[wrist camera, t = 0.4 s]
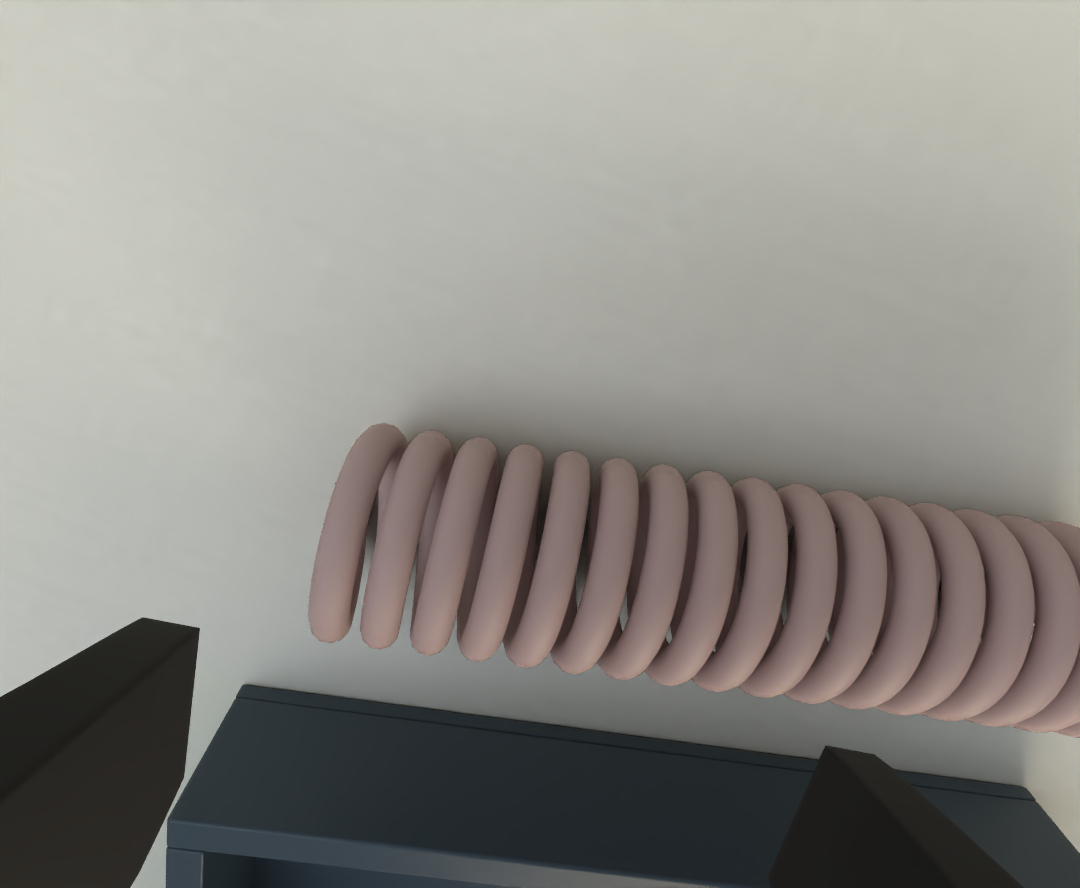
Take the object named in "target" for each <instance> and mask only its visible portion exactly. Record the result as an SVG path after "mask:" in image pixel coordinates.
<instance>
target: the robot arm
mask: <svg viewBox="0 0 1080 888" xmlns="http://www.w3.org/2000/svg"><path fill="white" fill-rule="evenodd" d="M199 631H200V628H196V627H191V626H186V625H180V624H175V623H170V622H164V621H159V620H154V619H148V618H143V617H142V618H141V619H139V620H137V621H135V622H133V623H131V624H129V625H127V626H126V627H124V628H122V629H120V630H118V631H117V632H115V633H113V634H111V635H109V636H108V637H106V638H104V639H102V640H101V641H99V642H97V643H95V644H94V645H92V646H90V647H88V648H87V649H85V650H83V651H81V652H80V653H78V654H76V655H74V656H73V657H71V658H69V659H67V660H66V661H64V662H62V663H60V664H59V665H57V666H55V667H53V668H52V669H50V670H48V671H46V672H44V673H43V674H41V675H39V676H37V677H36V678H34V679H32V680H30V681H29V682H27V683H25V684H23V685H21V686H19V687H18V688H16V689H14V690H12V691H10V692H9V693H7V694H5V695H3V696H1V697H0V888H130V887H131V885H132V884H133V882H134V880H135V879H136V877H137V875H138V874H139V872H140V870H141V868H142V866H143V864H144V862H145V860H146V857H147V855H148V853H149V851H150V849H151V847H152V845H153V843H154V841H155V839H156V837H157V835H158V833H159V830H160V828H161V826H162V824H163V822H164V820H165V818H166V815H167V813H168V811H169V809H170V807H171V804H172V802H173V800H174V798H175V796H176V794H177V791H178V789H179V787H180V785H181V783H182V781H183V778H184V772H185V763H186V753H187V744H188V735H189V725H190V716H191V706H192V697H193V688H194V678H195V669H196V659H197V650H198V641H199ZM768 878H769V883H770V888H1024V887H1023V886H1022V885H1021V884H1020V883H1019V882H1018V881H1016V880H1015V879H1014V878H1013V877H1012V876H1011V875H1010V874H1009V873H1008V872H1007V871H1006V870H1004V869H1003V868H1002V867H1001V866H1000V865H999V864H998V863H997V862H996V861H995V860H994V859H992V858H991V857H990V856H989V855H988V854H987V853H986V852H985V851H984V850H983V849H982V848H980V847H979V846H978V845H977V844H976V843H975V842H974V841H973V840H972V839H971V838H970V837H969V836H967V835H966V834H965V833H964V832H963V831H962V830H961V829H960V828H959V827H958V826H957V825H955V824H954V823H953V822H952V821H951V820H950V819H949V818H948V817H947V816H946V815H944V814H943V813H942V812H941V811H940V810H939V809H938V808H937V807H936V806H935V805H933V804H932V803H931V802H930V801H929V800H928V799H927V798H926V797H924V796H923V795H922V794H921V793H920V792H919V791H918V790H917V789H915V788H914V787H913V786H912V785H911V784H910V783H909V782H907V781H906V780H905V779H904V778H903V777H902V776H900V775H899V774H898V773H897V772H896V771H894V770H893V769H892V768H891V767H890V766H888V765H887V764H886V763H885V762H883V761H882V760H881V759H879V758H878V757H877V756H876V755H874V754H869V753H863V752H858V751H853V750H847V749H842V748H837V747H831V746H825V748H824V750H823V752H822V755H821V757H820V759H819V762H818V764H817V766H816V768H815V771H814V773H813V775H812V778H811V780H810V782H809V784H808V787H807V789H806V791H805V794H804V796H803V798H802V800H801V803H800V805H799V807H798V809H797V812H796V814H795V816H794V819H793V821H792V823H791V825H790V828H789V830H788V832H787V835H786V837H785V839H784V841H783V844H782V846H781V848H780V851H779V853H778V855H777V857H776V860H775V862H774V864H773V866H772V869H771V871H770V873H769V876H768Z"/></svg>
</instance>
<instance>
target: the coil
mask: <svg viewBox="0 0 1080 888" xmlns="http://www.w3.org/2000/svg"><path fill="white" fill-rule="evenodd" d="M543 463H544V462H543V458H542V454H541V452H540V451H539V450H538V449H537V448H536V447H535V446H531V445H528V444H523V445H519V446H516V447H515V448H514V449H513V450H512V451H511V452H510V453H509V455H508V458H507V461H506V464H505V468H504V471H503V475H502V479H501V483H500V487H499V491H498V496H497V490H498V456H497V451H496V448H495V446H494V445H493V444H492V443H491V442H490V441H489V440H488V439H485V438H481V437H477V438H473V439H469V440H468V441H467V442H466V443H465V444H463V445H462V447H461V448H460V449H459V451H458V453H457V455H456V458H455V460H454V456H453V451H452V446H451V443H450V441H449V440H448V439H447V438H446V437H445V436H444V435H443V433H441V432H437V431H434V430H429V431H425V432H421V433H420V434H419V435H417V436H416V437H415V438H414V439H413V440H412V441H411V442H410V444H409V445H408V444H407V441H406V438H405V436H404V435H403V434H402V432H401V431H400V430H399V429H398V428H397V427H395V426H393V425H390V424H387V423H381V424H377V425H372V426H371V427H369V428H368V429H367V430H366V431H365V432H364V433H363V434H362V435H361V436H360V437H359V438H358V439H357V440H356V442H355V443H354V445H353V446H352V448H351V450H350V452H349V454H348V456H347V458H346V460H345V462H344V464H343V467H342V469H341V471H340V474H339V477H338V479H337V482H336V483H335V488H334V491H333V494H332V497H331V500H330V503H329V506H328V510H327V513H326V517H325V520H324V524H323V528H322V532H321V536H320V540H319V545H318V549H317V554H316V559H315V564H314V569H313V575H312V581H311V589H310V596H309V612H308V616H309V623H310V627H311V631H312V634H313V635H314V636H315V637H316V638H317V639H318V640H319V641H323V642H328V643H333V642H336V641H339V640H341V639H342V638H343V637H344V636H345V635H346V634H347V633H348V632H349V630H350V627H351V624H352V620H353V616H354V612H355V608H356V604H357V599H358V594H359V588H360V582H361V576H362V570H363V562H364V554H365V546H366V536H367V524H368V520H369V517H370V513H371V510H372V506H373V503H374V500H375V497H376V494H377V491H378V521H377V535H376V543H375V548H374V552H373V556H372V561H371V566H370V570H369V575H368V580H367V585H366V591H365V596H364V602H363V608H362V615H361V624H360V631H361V635H362V638H363V641H364V642H365V643H366V644H367V645H368V646H370V647H372V648H377V649H383V648H386V647H389V646H390V645H391V644H392V643H393V642H394V641H395V640H396V639H397V637H398V633H399V629H400V624H401V619H402V614H403V609H404V604H405V600H406V595H407V590H408V585H409V581H410V576H411V572H412V567H413V563H414V558H415V554H416V550H417V546H418V541H419V547H418V559H417V570H416V581H415V591H414V600H413V609H412V619H411V628H410V639H411V643H412V646H413V647H414V648H415V649H416V650H417V651H418V652H419V653H420V654H425V655H433V654H436V653H439V652H440V651H441V650H442V649H443V648H444V647H445V646H446V645H447V643H448V641H449V638H450V635H451V632H452V629H453V625H454V621H455V618H456V614H457V641H458V644H459V648H460V651H461V653H462V654H463V655H464V656H465V657H466V658H467V659H468V660H473V661H477V662H480V661H483V660H486V659H489V658H490V657H491V656H492V655H493V654H494V652H495V651H496V650H497V649H498V648H499V646H500V644H501V642H502V639H503V643H504V647H505V651H506V654H507V656H508V658H509V659H510V660H511V661H512V662H513V663H514V664H515V665H516V666H521V667H525V668H530V667H533V666H536V665H538V664H540V663H541V662H542V661H543V660H544V658H545V657H546V656H547V655H548V653H549V652H550V654H551V657H552V659H553V661H554V662H555V663H556V664H557V665H558V666H559V667H560V668H561V669H562V670H563V671H564V672H568V673H572V674H579V673H582V672H585V671H587V670H589V669H591V668H592V667H593V665H594V664H595V663H596V662H597V664H598V665H599V666H600V668H601V669H602V670H603V671H604V672H605V673H606V674H607V675H609V676H610V677H612V678H616V679H620V680H627V679H630V678H633V677H636V676H638V675H640V674H641V673H642V672H643V671H645V672H646V674H647V675H648V676H649V677H650V678H651V679H652V680H653V681H655V682H657V683H659V684H663V685H667V686H675V685H678V684H681V683H684V682H686V681H689V680H690V679H692V680H693V681H694V682H695V683H696V684H697V685H698V686H699V687H702V688H704V689H706V690H710V691H714V692H723V691H726V690H729V689H732V688H735V687H737V686H738V687H739V688H740V689H741V690H742V691H744V692H745V693H748V694H750V695H753V696H757V697H761V698H770V697H774V696H777V695H780V694H785V695H786V696H788V697H789V698H791V699H794V700H797V701H800V702H804V703H810V704H817V703H821V702H825V701H828V700H830V701H831V702H833V703H834V704H837V705H840V706H843V707H846V708H850V709H861V710H863V709H867V708H872V707H876V708H878V709H880V710H883V711H886V712H889V713H893V714H896V715H913V714H918V713H920V714H922V715H925V716H928V717H932V718H936V719H939V720H943V721H958V720H963V719H965V720H967V721H970V722H974V723H977V724H981V725H985V726H995V727H1002V726H1007V725H1009V726H1012V727H1015V728H1019V729H1023V730H1027V731H1031V732H1051V731H1053V732H1057V733H1060V734H1064V735H1068V736H1072V737H1080V528H1078V527H1075V526H1072V525H1069V524H1065V523H1061V522H1054V521H1044V522H1035V521H1032V520H1030V519H1027V518H1023V517H1019V516H1013V515H1003V516H997V517H994V516H992V515H990V514H987V513H985V512H982V511H978V510H973V509H961V510H955V511H952V512H951V511H950V510H949V509H947V508H944V507H942V506H940V505H936V504H932V503H918V504H914V505H910V506H907V505H906V504H905V503H903V502H901V501H899V500H897V499H894V498H890V497H883V496H879V497H875V498H871V499H868V500H865V501H863V500H862V499H861V498H860V496H858V495H856V494H854V493H851V492H847V491H843V490H836V491H832V492H828V493H825V494H822V495H821V496H820V495H819V494H818V493H817V492H816V491H815V490H814V489H812V488H810V487H809V486H805V485H801V484H795V483H794V484H791V485H787V486H784V487H781V488H779V489H778V490H777V491H775V489H774V488H773V487H772V486H771V485H770V484H769V483H767V482H766V481H765V480H762V479H758V478H754V477H749V478H745V479H742V480H739V481H737V482H736V483H735V484H734V485H733V486H732V487H731V486H730V484H729V483H728V482H727V481H726V480H725V479H724V478H723V477H722V476H721V475H720V474H719V473H715V472H712V471H703V472H699V473H697V474H695V475H694V476H693V477H692V478H691V479H690V480H689V481H688V482H687V483H686V484H685V482H684V479H683V477H682V475H681V474H680V473H679V472H678V471H677V470H676V469H675V468H674V467H672V466H668V465H665V464H660V465H656V466H653V467H652V468H651V469H650V470H648V471H647V472H646V473H645V475H644V476H643V478H642V480H641V483H640V485H639V483H638V478H637V473H636V470H635V467H634V466H633V465H632V464H631V463H630V462H629V461H628V460H625V459H621V458H618V457H617V458H613V459H609V460H607V461H606V462H605V463H604V464H603V465H602V466H601V468H600V470H599V473H598V477H597V480H596V484H595V488H594V493H593V498H592V505H591V511H590V519H589V528H588V538H587V552H586V575H585V586H584V590H583V594H582V598H581V601H580V604H579V608H578V611H577V598H576V571H577V566H578V561H579V556H580V551H581V546H582V541H583V535H584V529H585V523H586V516H587V510H588V502H589V493H590V480H591V472H590V467H589V463H588V460H587V459H586V458H585V457H584V456H583V455H582V454H581V453H578V452H575V451H568V452H564V453H562V454H561V455H560V456H559V457H558V458H557V459H556V461H555V465H554V468H553V474H552V481H551V489H550V496H549V502H548V508H547V513H546V519H545V524H544V529H543V534H542V539H541V544H540V549H539V553H538V558H537V562H536V567H535V553H536V537H537V523H538V511H539V500H540V490H541V481H542V472H543ZM792 526H793V527H794V531H795V535H794V538H793V542H792V546H791V550H790V555H789V561H788V535H789V532H790V530H791V528H792ZM836 528H838V532H837V535H836V534H835V529H836ZM746 533H747V559H746V567H745V575H744V581H743V587H742V591H741V596H740V564H741V556H742V550H743V544H744V540H745V536H746ZM787 566H788V569H787ZM984 570H985V575H984ZM786 577H787V583H786ZM940 580H941V606H940V614H939V618H938V608H937V604H938V591H939V584H940ZM785 584H786V601H787V618H786V621H785V624H784V625H783V620H782V614H781V606H782V601H783V597H784V591H785ZM626 588H627V609H628V620H627V623H626V626H625V628H624V630H623V632H622V628H621V624H620V617H619V614H620V611H621V607H622V604H623V600H624V596H625V592H626ZM1033 623H1035V626H1034V631H1033ZM669 626H670V627H671V633H672V638H673V639H672V641H671V642H670V644H668V641H667V639H666V634H667V631H668V629H669ZM827 629H828V630H829V635H830V641H829V643H828V641H827V638H826V632H827ZM1032 631H1033V636H1032ZM1031 636H1032V640H1031ZM980 638H981V642H980ZM1030 640H1031V643H1030ZM1029 645H1030V646H1029ZM714 647H715V649H716V652H715V653H714V652H713V649H714ZM871 652H872V653H873V655H872V654H871Z"/></svg>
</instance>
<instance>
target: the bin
mask: <svg viewBox="0 0 1080 888" xmlns="http://www.w3.org/2000/svg"><path fill="white" fill-rule="evenodd" d="M818 762H819V760H812V759H804V758H797V757H789V756H781V755H774V754H766V753H759V752H751V751H743V750H736V749H728V748H720V747H713V746H705V745H698V744H690V743H682V742H675V741H667V740H660V739H652V738H644V737H637V736H629V735H622V734H614V733H606V732H599V731H591V730H584V729H576V728H568V727H561V726H553V725H546V724H538V723H530V722H523V721H515V720H507V719H500V718H492V717H485V716H477V715H469V714H462V713H454V712H447V711H439V710H431V709H424V708H416V707H409V706H401V705H393V704H386V703H378V702H371V701H363V700H355V699H348V698H340V697H333V696H325V695H317V694H310V693H302V692H294V691H287V690H279V689H272V688H264V687H256V686H249V685H242V687H241V688H240V690H239V692H238V694H237V696H236V699H235V700H234V702H233V704H232V705H231V707H230V709H229V711H228V712H227V714H226V716H225V718H224V720H223V721H222V723H221V725H220V727H219V729H218V730H217V732H216V734H215V736H214V737H213V739H212V741H211V743H210V745H209V746H208V748H207V750H206V752H205V753H204V755H203V757H202V759H201V761H200V762H199V764H198V766H197V768H196V769H195V771H194V773H193V775H192V777H191V778H190V780H189V782H188V784H187V785H186V787H185V789H184V791H183V793H182V794H181V796H180V798H179V800H178V801H177V803H176V805H175V807H174V809H173V810H172V812H171V814H170V816H169V818H168V819H167V845H168V847H167V850H166V888H770V883H769V878H768V876H769V873H770V871H771V869H772V866H773V864H774V862H775V860H776V857H777V855H778V853H779V851H780V848H781V846H782V844H783V841H784V839H785V837H786V835H787V832H788V830H789V828H790V825H791V823H792V821H793V819H794V816H795V814H796V812H797V809H798V807H799V805H800V803H801V800H802V798H803V796H804V794H805V791H806V789H807V787H808V784H809V782H810V780H811V778H812V775H813V773H814V771H815V768H816V766H817V764H818ZM894 771H895V770H894ZM896 772H897V773H898V774H899V775H900V776H902V777H903V778H904V779H905V780H906V781H907V782H909V783H910V784H911V785H912V786H913V787H914V788H915V789H917V790H918V791H919V792H920V793H921V794H922V795H923V796H924V797H926V798H927V799H928V800H929V801H930V802H931V803H932V804H933V805H935V806H936V807H937V808H938V809H939V810H940V811H941V812H942V813H943V814H944V815H946V816H947V817H948V818H949V819H950V820H951V821H952V822H953V823H954V824H955V825H957V826H958V827H959V828H960V829H961V830H962V831H963V832H964V833H965V834H966V835H967V836H969V837H970V838H971V839H972V840H973V841H974V842H975V843H976V844H977V845H978V846H979V847H980V848H982V849H983V850H984V851H985V852H986V853H987V854H988V855H989V856H990V857H991V858H992V859H994V860H995V861H996V862H997V863H998V864H999V865H1000V866H1001V867H1002V868H1003V869H1004V870H1006V871H1007V872H1008V873H1009V874H1010V875H1011V876H1012V877H1013V878H1014V879H1015V880H1016V881H1018V882H1019V883H1020V884H1021V885H1022V886H1023V887H1024V888H1080V853H1079V852H1078V851H1077V850H1076V849H1075V847H1074V846H1073V845H1072V844H1071V843H1070V841H1069V840H1068V839H1067V838H1066V836H1065V835H1064V834H1063V833H1062V832H1061V830H1060V829H1059V828H1058V827H1057V826H1056V824H1055V823H1054V822H1053V821H1052V819H1051V818H1050V817H1049V816H1048V815H1047V813H1046V812H1045V811H1044V810H1043V809H1042V807H1041V806H1040V805H1039V804H1038V803H1037V802H1036V800H1035V798H1034V797H1033V796H1032V794H1031V793H1030V792H1029V791H1028V790H1027V789H1026V788H1024V787H1017V786H1010V785H1002V784H994V783H987V782H979V781H972V780H964V779H956V778H949V777H941V776H933V775H926V774H918V773H911V772H903V771H896Z"/></svg>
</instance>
